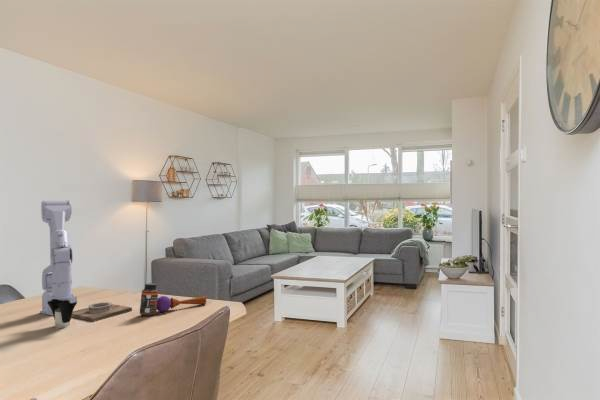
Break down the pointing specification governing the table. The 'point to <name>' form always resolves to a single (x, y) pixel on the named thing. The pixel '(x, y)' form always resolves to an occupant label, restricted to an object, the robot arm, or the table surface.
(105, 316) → the board with ring socket
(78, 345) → the table surface
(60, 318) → the plug
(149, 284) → the supplement bottle
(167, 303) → the kendama
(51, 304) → the robot arm
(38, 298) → the table surface
